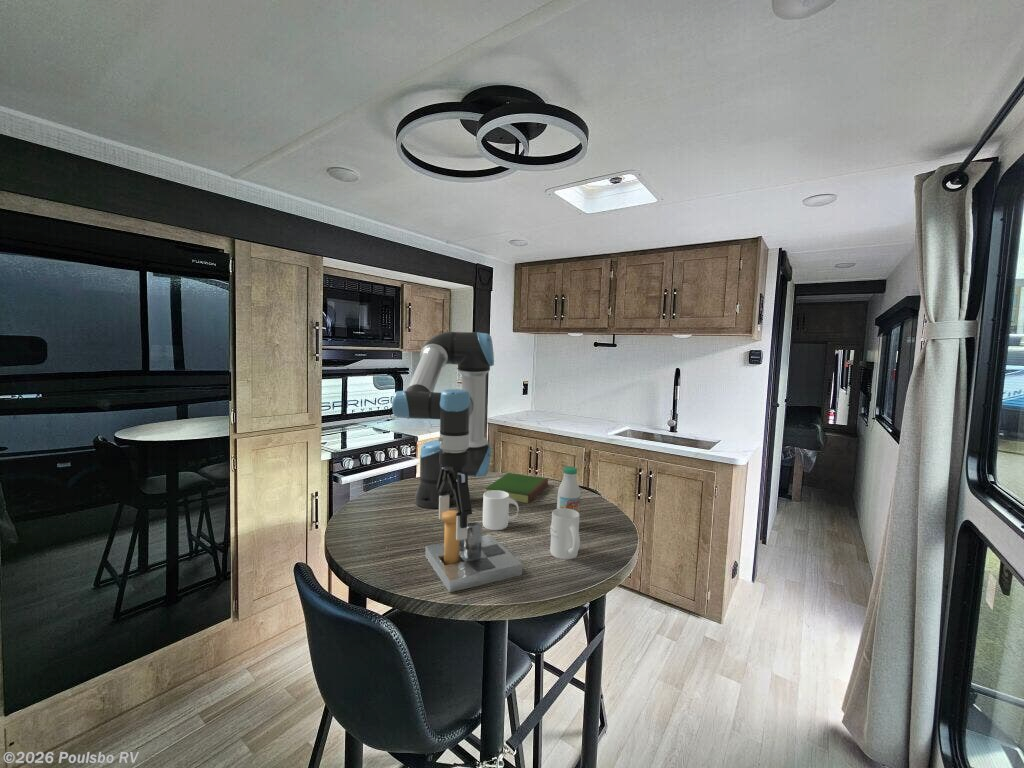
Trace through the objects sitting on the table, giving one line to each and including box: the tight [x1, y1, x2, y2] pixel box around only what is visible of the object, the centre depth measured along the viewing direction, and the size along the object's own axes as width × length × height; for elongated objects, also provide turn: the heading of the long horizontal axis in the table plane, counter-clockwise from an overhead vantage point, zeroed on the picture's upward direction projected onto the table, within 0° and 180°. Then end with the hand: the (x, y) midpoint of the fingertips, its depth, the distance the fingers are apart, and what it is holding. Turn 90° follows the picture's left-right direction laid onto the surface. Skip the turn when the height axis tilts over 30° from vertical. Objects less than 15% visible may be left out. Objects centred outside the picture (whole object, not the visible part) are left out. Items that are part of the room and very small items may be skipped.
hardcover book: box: [485, 472, 549, 504], centre depth 182 cm, size 25×19×4 cm
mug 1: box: [482, 490, 520, 531], centre depth 145 cm, size 9×12×11 cm
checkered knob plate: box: [424, 522, 523, 593], centre depth 118 cm, size 20×20×11 cm
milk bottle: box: [556, 465, 581, 519], centre depth 147 cm, size 8×8×20 cm
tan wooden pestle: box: [441, 509, 460, 566], centre depth 115 cm, size 6×6×15 cm
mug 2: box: [549, 508, 581, 560], centre depth 125 cm, size 8×12×12 cm
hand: (452, 528), depth 115 cm, fingers open, 13 cm apart
